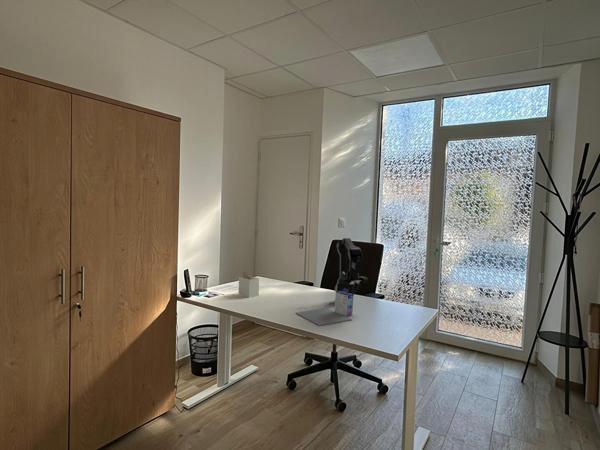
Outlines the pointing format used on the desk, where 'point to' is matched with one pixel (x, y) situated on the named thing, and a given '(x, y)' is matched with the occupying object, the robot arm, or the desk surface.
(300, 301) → the desk surface
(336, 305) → the ink cartridge box
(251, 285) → the white box
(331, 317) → the mat
